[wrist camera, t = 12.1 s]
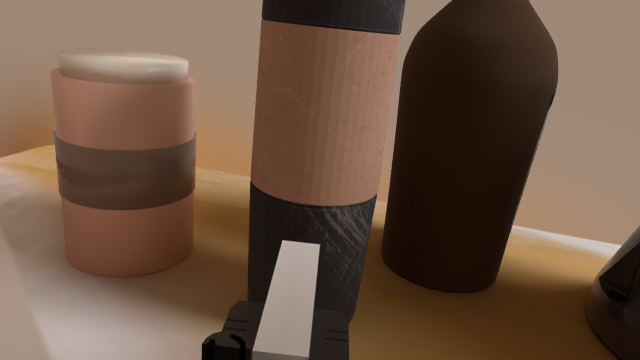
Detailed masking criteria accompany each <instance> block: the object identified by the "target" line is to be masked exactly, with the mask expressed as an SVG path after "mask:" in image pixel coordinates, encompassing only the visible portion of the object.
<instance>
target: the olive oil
mask: <svg viewBox="0 0 640 360" xmlns="http://www.w3.org/2000/svg"><path fill="white" fill-rule="evenodd" d="M557 83H558V57H557V51H556V47H555V44H554V42H553V40H552V38H551V36H550V34H549V33H548V31H547V29H546V28H545V26H544V24H543V23H542V21H541V20H540V18H539V17H538V15H537V13H536V12H535V10H534V8H533V7H532V5H531V4H530V2H529V0H452V1H451V2H450V3H448V4H447V5H446V6H445V7H444V8H443V9H442V10H440V11H439V12H438V13H437V14H436V15H435V16H433V17H432V18H431V19H430V20H429V21H428V22H427V23H426V24H425V25H424V26H423V27H422V28H421V29H420V30H419V31H418V33H417V34H416V36H415V38H414V39H413V41H412V43H411V45H410V48H409V50H408V52H407V54H406V57H405V60H404V64H403V69H402V77H401V86H400V95H399V106H398V115H397V125H396V134H395V144H394V152H393V161H392V170H391V178H390V187H389V195H388V203H387V210H386V218H385V225H384V233H383V240H382V256H383V258H384V260H385V261H386V263H387V264H388V265H389V266H390V267H391V268H392V269H393V270H394V271H396V272H397V273H398V274H400V275H402V276H403V277H405V278H407V279H409V280H411V281H413V282H416V283H418V284H421V285H424V286H427V287H431V288H435V289H439V290H445V291H453V292H470V291H476V290H480V289H483V288H486V287H488V286H490V285H491V284H492V283H493V282H494V281H495V279H496V277H497V274H498V271H499V268H500V265H501V261H502V258H503V254H504V251H505V248H506V244H507V241H508V238H509V234H510V232H511V229H512V225H513V222H514V219H515V215H516V212H517V209H518V206H519V203H520V200H521V197H522V194H523V190H524V187H525V184H526V181H527V178H528V175H529V171H530V168H531V165H532V162H533V159H534V156H535V153H536V150H537V147H538V144H539V141H540V138H541V135H542V132H543V129H544V126H545V123H546V120H547V117H548V114H549V111H550V108H551V105H552V102H553V99H554V96H555V93H556V88H557Z"/></svg>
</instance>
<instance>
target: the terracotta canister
mask: <svg viewBox="0 0 640 360" xmlns="http://www.w3.org/2000/svg"><path fill="white" fill-rule="evenodd" d="M58 58H59V68H57V69H53V70H52V71H51V82H52V95H53V106H54V118H55V129H56V130H55V132H54V139H55V150H56V162H57V174H58V185H59V193H60V195H61V201H62V213H63V224H64V236H65V248H66V257H67V259H68V261H69V262H70V264H71V265H73V266H74V267H75V268H77V269H79V270H81V271H84V272H86V273H90V274H94V275H99V276H108V277H131V276H140V275H146V274H150V273H155V272H158V271H161V270H164V269H167V268H169V267H172V266H174V265H176V264H178V263H179V262H181V261H182V260H183V259H185V258H186V257H187V256H188V255H189V254H190V252H191V250H192V247H193V201H194V189H195V161H196V159H195V158H196V156H195V155H196V133H195V130H194V129H195V78H194V77H192V76H190V75H188V60H186V59H183V58H180V57H175V56H170V55H164V54H157V53H148V52H138V51H124V50H105V49H75V50H64V51H60V52H58Z"/></svg>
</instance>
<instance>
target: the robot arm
mask: <svg viewBox="0 0 640 360" xmlns="http://www.w3.org/2000/svg"><path fill="white" fill-rule="evenodd" d="M319 249H320V245H319V244H311V243H302V242H293V241H285V240H282V244H281V248H280V252H279V255H278V259H277V263H276V266H275V270H274V274H273V277H272V281H271V285H270V288H269V292H268V296H267V299H266V303H256V302H248V301H239V302H238V303H237V304H235V305H234V306H233V307H232V308H231V309H230V311H229V314H228V316H227V320H226V322H225V324H224V327H223V329H222V331H221V332H217V333H214V334H212V335H210V336H209V337H207V338H206V339H205V341H204V342H203V343H202V360H349V334H348V332H349V331H348V320H347V319H346V317H345V315H344V314H343V312H342V311H334V310H325V309H317V308H314V299H315V289H316V279H317V269H318V259H319ZM586 315H587V318H588V320H589V323H590V324H591V326H592V328H593V329H594V331H595V332H596V334H597V335H598V336H599V337H600V339H601V340H602V341H603V342H604V343H605V344H606V345H607V346H608V347H609V348H610V349H611V350H612V351H613V352H614V353H615V354H616V355H617V356H618V357H619V358H621V359H622V360H640V226H639V227H638V228H637V229H636V231H635V232H634V233H633V234H632V235H631V236H630V237H629V239H628V240H627V241H626V242H625V243H624V244H623V245H622V247H621V248H620V249H619V250H618V251H617V252H616V253H615V255H614V256H613V257H612V258H611V259H610V260H609V261H608V263H607V264H606V265H605V266H604V267H603V268H602V269H601V271H600V272H599V273H598V274H597V276H596V278H595V280H594V282H593V285H592V288H591V291H590V294H589V297H588V300H587V303H586Z"/></svg>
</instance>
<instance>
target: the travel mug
mask: <svg viewBox="0 0 640 360" xmlns="http://www.w3.org/2000/svg"><path fill="white" fill-rule="evenodd" d="M404 7H405V0H263V6H262V21H261V35H260V49H259V64H258V78H257V92H256V106H255V121H254V135H253V150H252V163H251V181H250V217H249V254H248V302H256V303H266V299H267V296H268V292H269V288H270V285H271V281H272V277H273V274H274V270H275V266H276V263H277V259H278V255H279V252H280V248H281V244H282V240H285V241H293V242H302V243H311V244H319V245H320V249H319V259H318V269H317V279H316V289H315V299H314V308H317V309H325V310H334V311H342V312H343V314H344V315H345V317H346V319H347V320H348V323H349V322H350V320H351V318H352V317H353V314H354V310H355V307H356V302H357V297H358V292H359V287H360V282H361V276H362V271H363V266H364V261H365V255H366V250H367V245H368V240H369V234H370V229H371V224H372V219H373V213H374V208H375V203H376V197H377V191H378V185H379V179H380V172H381V165H382V158H383V151H384V144H385V137H386V131H387V124H388V117H389V109H390V103H391V96H392V90H393V83H394V76H395V69H396V62H397V55H398V48H399V42H400V33H401V28H402V21H403V14H404Z"/></svg>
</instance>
